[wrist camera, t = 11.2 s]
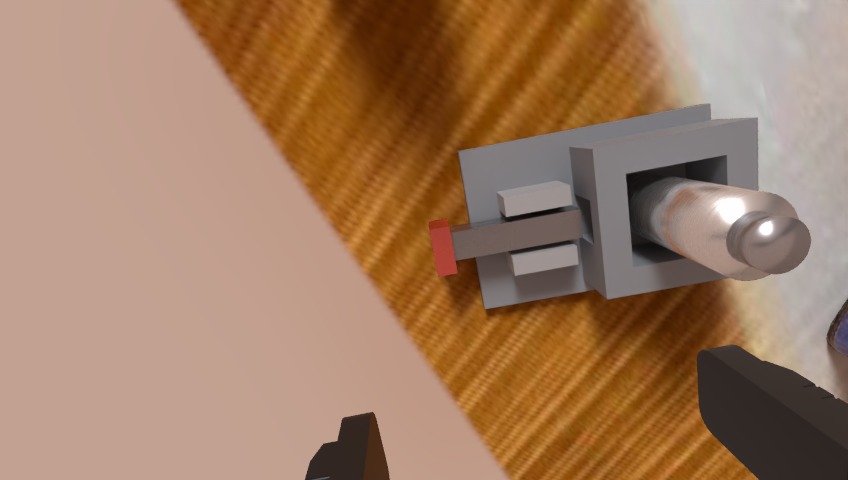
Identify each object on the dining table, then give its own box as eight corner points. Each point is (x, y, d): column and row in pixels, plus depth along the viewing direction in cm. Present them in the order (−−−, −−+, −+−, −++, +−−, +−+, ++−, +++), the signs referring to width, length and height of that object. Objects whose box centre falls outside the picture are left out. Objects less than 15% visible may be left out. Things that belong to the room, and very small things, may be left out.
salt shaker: (671, 166, 29) (832, 188, 17) (674, 226, 29) (829, 283, 18) (609, 178, 29) (729, 207, 18) (614, 237, 30) (732, 300, 18)
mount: (700, 104, 29) (757, 98, 24) (706, 264, 31) (759, 288, 26) (457, 151, 29) (464, 155, 24) (483, 304, 32) (494, 334, 27)
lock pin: (569, 195, 28) (583, 201, 26) (574, 239, 29) (588, 249, 27) (428, 221, 29) (429, 229, 26) (437, 264, 29) (438, 276, 27)
